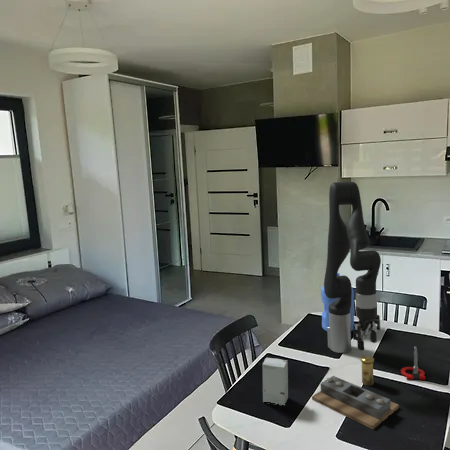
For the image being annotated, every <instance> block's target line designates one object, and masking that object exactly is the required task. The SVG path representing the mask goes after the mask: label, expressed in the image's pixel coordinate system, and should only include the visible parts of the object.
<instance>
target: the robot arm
mask: <svg viewBox="0 0 450 450" xmlns="http://www.w3.org/2000/svg"><path fill="white" fill-rule="evenodd" d="M328 191H329V193H328V198H329V199H328V201H329V202H328V205H329V206H328V208H329V217H328V218H329V223H328V234H327V235H328V236H327V255H326V268H325V274H324V280H323V286H324V292H325V295H326V296H327V297H328V298H330V299H333V298H337V300H335V301H334V302H333V303H331V304H330V305H329V327H328V328H327V331H326V332H327V348H329V350H330V351H333V353H338V354H339V353H340V354H343V353H344V354H346V353H348V352H351V350H352V339H353V340H354V341H357V349H358V350H359V351H362V352H363V351H365V337H366V336H367V335H368V333H370V335H369V336H370V338H369V340H370V342H371V343H373V344H376V343H377V342H378V341H377V339H378V338H377V337H378V335H377V334H378V331H380V330H381V319H380V317H381V316H380V315H379V314H378V296H377V280H378V279H377V278H378V274H379V272H380V268H381V263H382V261H381V259H382V258H381V255H380V254H379V252H378V251H377V250H374V249H372V250H364V249H366V248H368V247H369V246H370V238H369V235H368V234H369V233H368V232H367V229H366V225H365V221H364V213H363V212H364V211H363V205H362V199H361V192H360V188H359V186H358V184H357V183H356V182H355V181H339V182H338V181H335V182H332V183H331V184H330V186H329V189H328ZM343 205H345V206H347V205H351V208H352V210H351V211H352V212H351V214H350V217H349V218H348V220H347V223H345V222H344V220H343V219H342V216H341V213H340V206H343ZM361 250H362V251H361ZM349 253H350V257H349V265H350V267H351V268H352V269H353V270H354V271H356V272H364V271H367V272H366V273H365V274H362V275H359V276H357V277H356V278H355V301H354V302H355V316H356V317H357V318H358V319H357V320H358V323H354V325H353V330H352V331H351V320H350V308H351V297H352V282H351V279H350V278H349V277H348V276H347V275H340V276H337V273H339V269H340V267H341V266H342V264H343V263H344V261H345V260H346V259H347V256H348V255H349ZM369 331H370V332H369Z"/></svg>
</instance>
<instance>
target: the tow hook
mask: <svg viewBox="0 0 450 450" xmlns="http://www.w3.org/2000/svg"><path fill="white" fill-rule="evenodd" d="M417 348H418V347H417V346H414V351H413V366H405V367H402V368H401V369H400V373H401V375H403V376H404V377H405V378H406V380H412V381H422V380H423V381H425V380H426V376H425V375H426V374H425V371H424V370H423V369H420V368H419V366H418V349H417ZM407 371H412V373H411V374H410V373H408V372H407Z"/></svg>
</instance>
